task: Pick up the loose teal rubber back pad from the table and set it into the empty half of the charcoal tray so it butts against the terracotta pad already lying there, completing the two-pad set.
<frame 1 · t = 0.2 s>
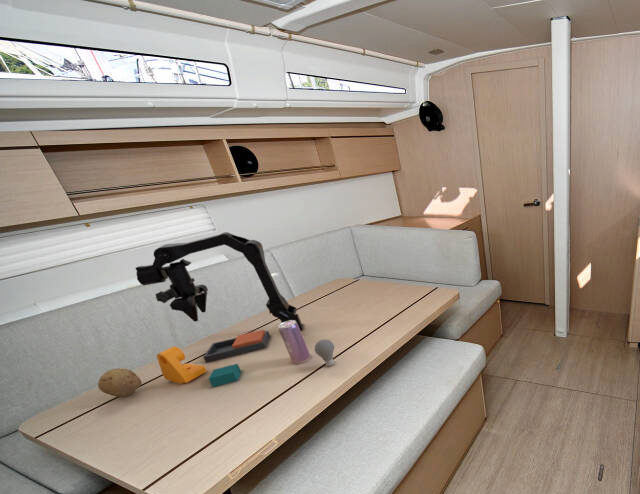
hand: (200, 316, 136), 15 cm above the table, tool pointing down, fingers open, 9 cm apart
potato: (128, 395, 117), on the table
bracket: (188, 377, 125), on the table
light bulb: (330, 365, 124), on the table
beverage can: (301, 360, 129), on the table
teal pad: (227, 379, 121), on the table
pad tray: (240, 348, 141), on the table
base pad: (251, 344, 142), resting on pad tray
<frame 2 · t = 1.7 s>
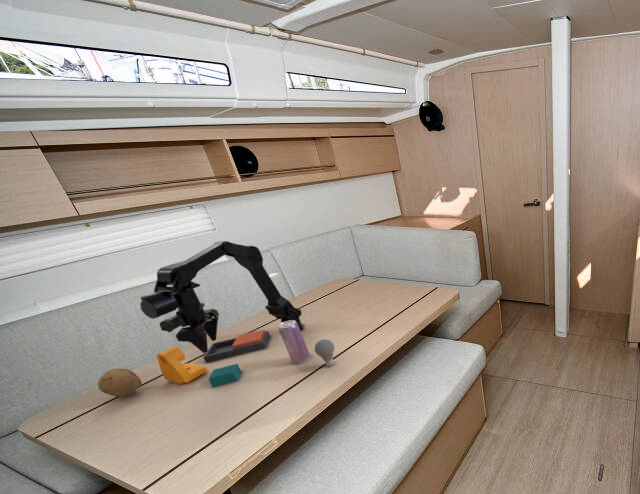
hand: (210, 346, 119), 12 cm above the table, tool pointing down, fingers open, 9 cm apart
nothing on the table moved.
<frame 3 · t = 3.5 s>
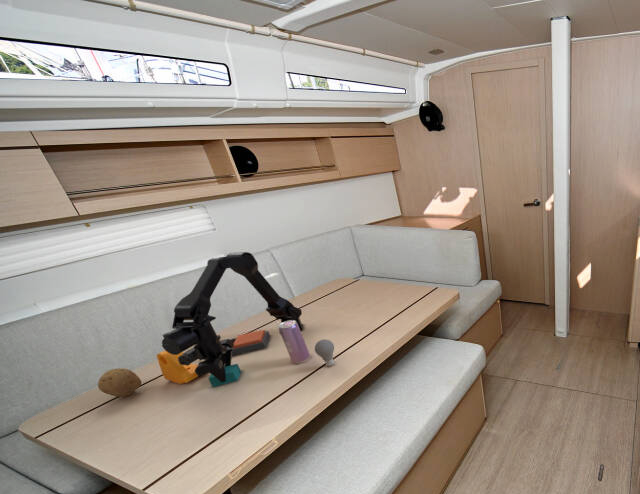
hand: (226, 376, 121), 1 cm above the table, tool pointing down, fingers closed on teal pad, 6 cm apart
teal pad: (227, 379, 121), on the table, touching gripper
everything else where it was.
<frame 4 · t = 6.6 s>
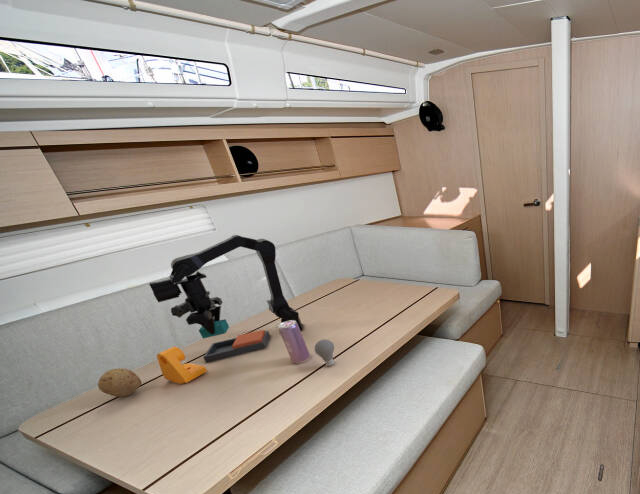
hand: (215, 330, 132), 11 cm above the table, tool pointing down, fingers closed on teal pad, 6 cm apart
teal pad: (216, 332, 133), point 10 cm above the table, touching gripper
everything else where it was.
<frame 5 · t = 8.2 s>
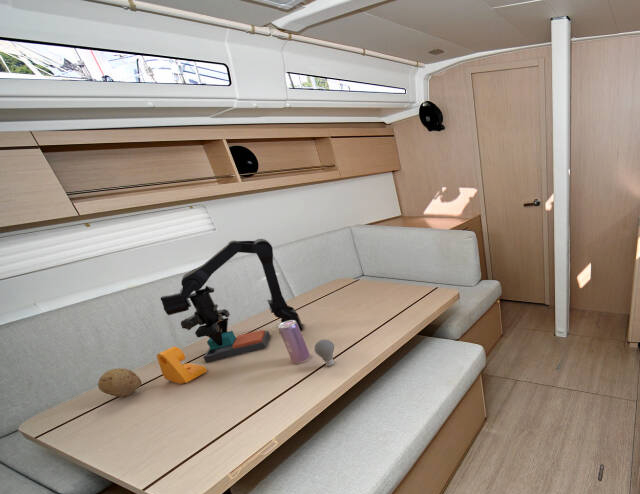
hand: (222, 341, 137), 5 cm above the table, tool pointing down, fingers closed on teal pad, 6 cm apart
teal pad: (223, 343, 138), point 4 cm above the table, touching gripper
everything else where it was.
when the fingers open (2 cm above the table, at t = 9.9 s): teal pad stays where it is, resting on pad tray.
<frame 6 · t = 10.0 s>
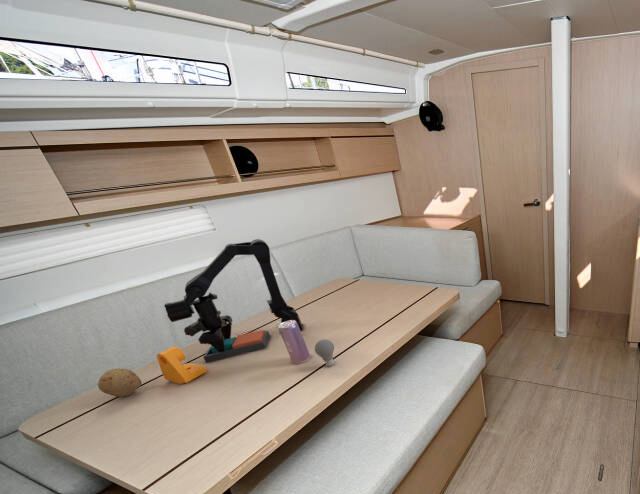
hand: (225, 347, 139), 2 cm above the table, tool pointing down, fingers open, 8 cm apart
teal pad: (226, 350, 139), point 1 cm above the table, touching pad tray
everything else where it was.
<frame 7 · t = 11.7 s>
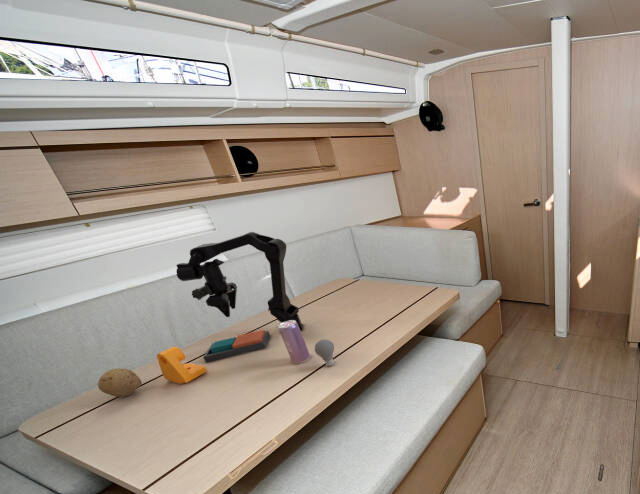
hand: (231, 312, 144), 12 cm above the table, tool pointing down, fingers open, 9 cm apart
nothing on the table moved.
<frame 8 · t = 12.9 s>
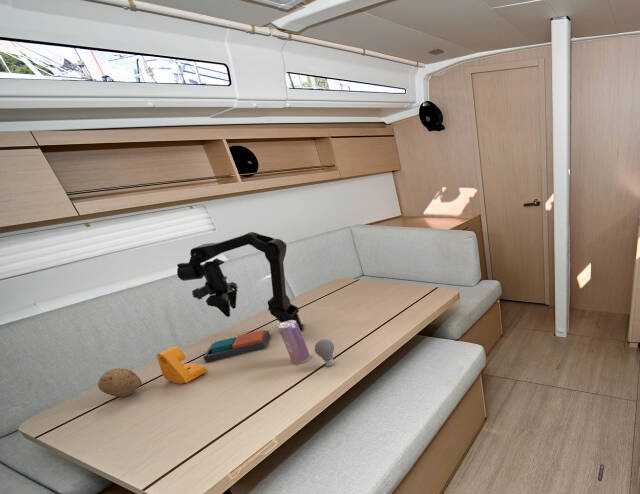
hand: (231, 312, 144), 12 cm above the table, tool pointing down, fingers open, 9 cm apart
nothing on the table moved.
at the end: teal pad inside the target area in the pad tray (0.4 cm from its centre), point 0.6 cm above the pad tray's base; teal pad 8.5 cm from the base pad (horizontally); teal pad tilted 0° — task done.
